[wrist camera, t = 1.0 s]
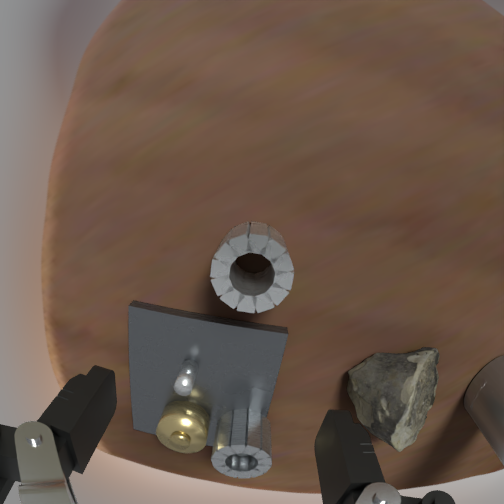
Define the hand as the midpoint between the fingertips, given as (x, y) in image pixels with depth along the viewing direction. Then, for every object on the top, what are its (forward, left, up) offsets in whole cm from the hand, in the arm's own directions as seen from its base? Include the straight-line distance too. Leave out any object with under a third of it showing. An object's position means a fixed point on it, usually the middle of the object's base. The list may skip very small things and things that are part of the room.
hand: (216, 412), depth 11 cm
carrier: (+2, +13, -17) cm, 21 cm away
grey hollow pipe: (-3, +17, -15) cm, 23 cm away
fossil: (-18, +9, -17) cm, 26 cm away
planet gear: (-1, -1, -17) cm, 17 cm away
